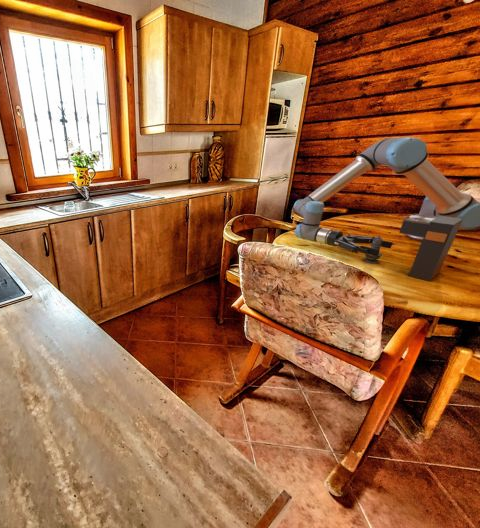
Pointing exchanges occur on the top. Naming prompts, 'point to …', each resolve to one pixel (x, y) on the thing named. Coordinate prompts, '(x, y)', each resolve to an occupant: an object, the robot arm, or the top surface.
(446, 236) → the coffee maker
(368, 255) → the dark grey chess piece
